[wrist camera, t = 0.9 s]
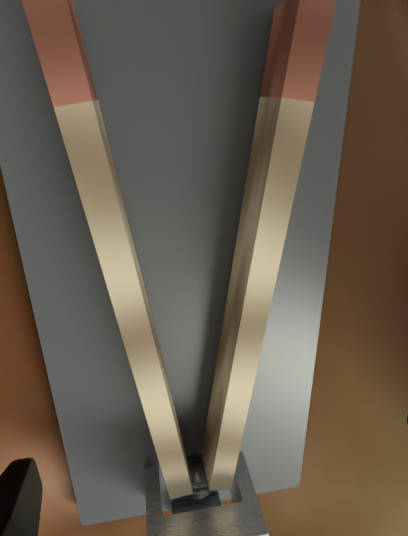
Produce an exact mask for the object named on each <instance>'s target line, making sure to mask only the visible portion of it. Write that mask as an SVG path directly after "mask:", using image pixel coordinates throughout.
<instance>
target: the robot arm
mask: <svg viewBox="0 0 408 536" xmlns="http://www.w3.org/2000/svg"><path fill="white" fill-rule="evenodd" d="M407 423H408V415H407ZM41 501H42V482H41V479H40V475H39V472H38V469H37V465H36V462H35V460H34V459H33V458H24V459H18V460H14V461H13V462H11V463H10V464H9V465H8V467H7V468H6V469H5V470H4V472H3V473H2V474H1V475H0V536H38V529H39V520H40V510H41Z"/></svg>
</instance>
